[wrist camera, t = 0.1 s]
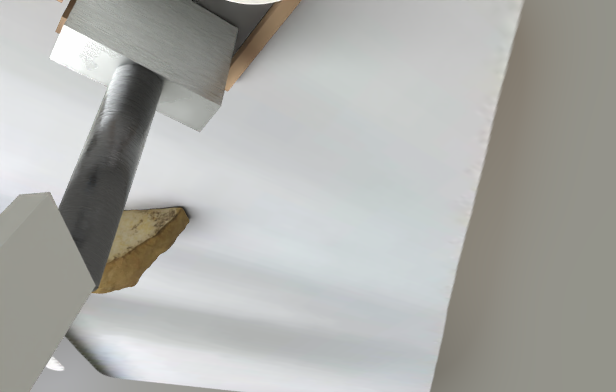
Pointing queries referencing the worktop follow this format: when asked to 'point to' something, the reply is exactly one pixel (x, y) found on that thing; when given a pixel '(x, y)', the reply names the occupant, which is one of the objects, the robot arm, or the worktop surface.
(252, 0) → the dixie cup
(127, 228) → the rock
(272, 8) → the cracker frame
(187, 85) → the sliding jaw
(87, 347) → the worktop surface
